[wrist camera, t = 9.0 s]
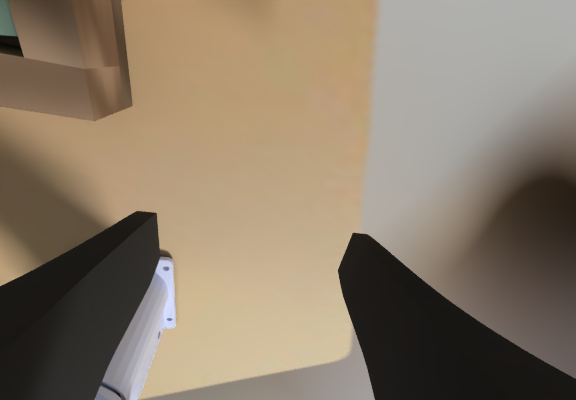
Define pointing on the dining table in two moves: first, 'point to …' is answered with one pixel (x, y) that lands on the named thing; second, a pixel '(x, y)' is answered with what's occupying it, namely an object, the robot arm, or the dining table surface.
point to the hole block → (65, 59)
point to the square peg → (6, 20)
